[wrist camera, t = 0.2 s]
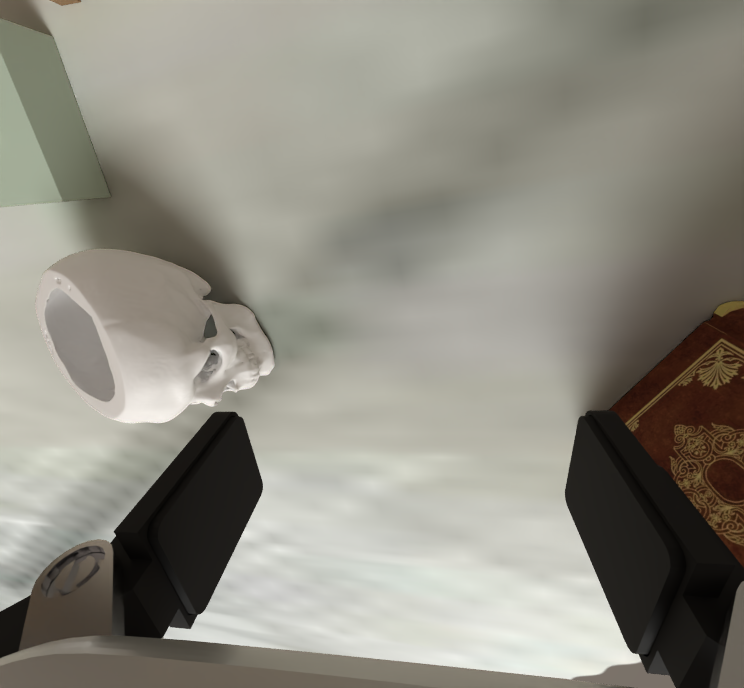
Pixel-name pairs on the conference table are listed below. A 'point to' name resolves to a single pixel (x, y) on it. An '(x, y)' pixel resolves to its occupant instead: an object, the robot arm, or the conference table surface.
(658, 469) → the robot arm
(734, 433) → the decorative book
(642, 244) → the conference table surface
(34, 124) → the pale green box
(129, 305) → the skull planter
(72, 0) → the wooden staple shape
